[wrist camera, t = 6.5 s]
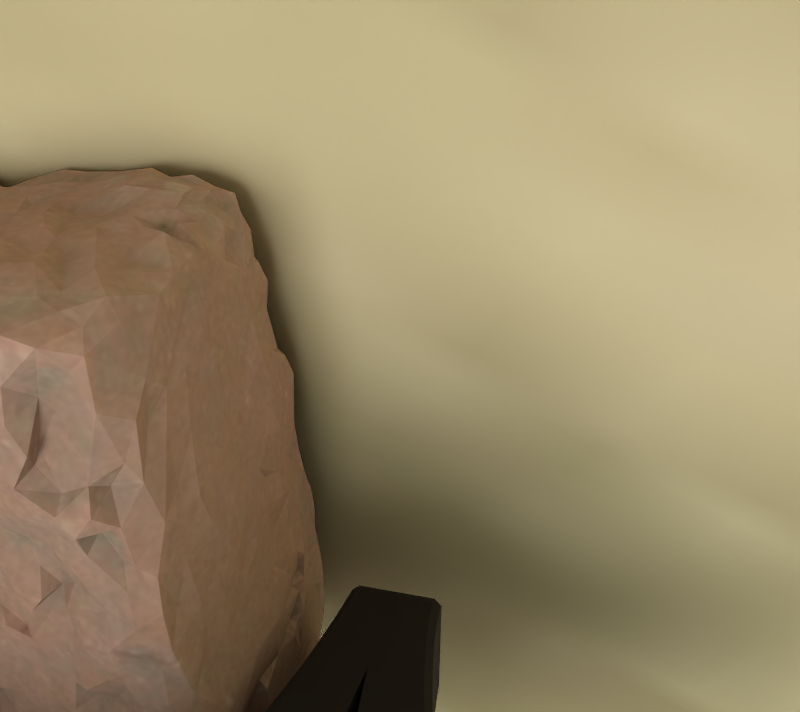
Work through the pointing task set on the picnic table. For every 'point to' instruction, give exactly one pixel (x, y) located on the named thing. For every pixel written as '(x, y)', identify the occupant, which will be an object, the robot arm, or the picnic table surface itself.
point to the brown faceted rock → (145, 455)
